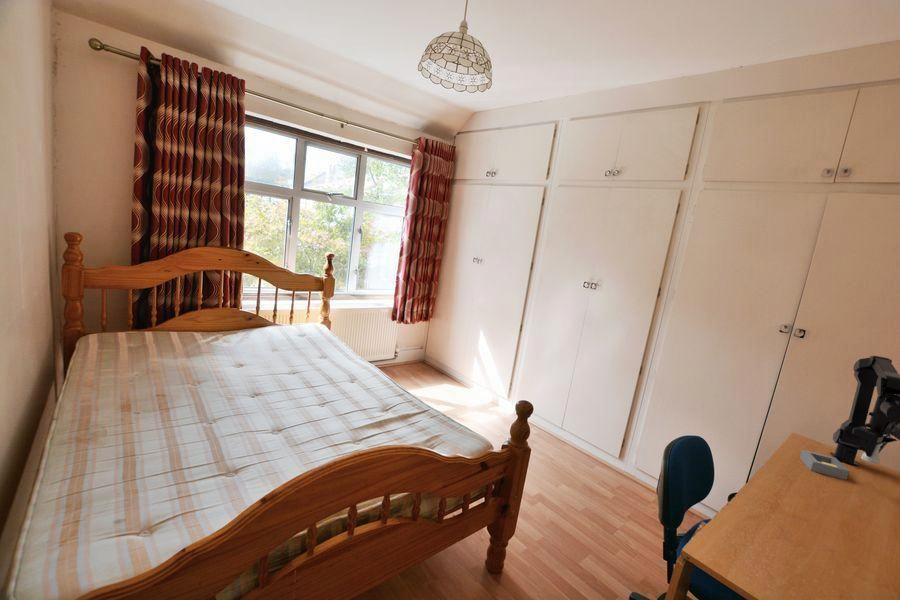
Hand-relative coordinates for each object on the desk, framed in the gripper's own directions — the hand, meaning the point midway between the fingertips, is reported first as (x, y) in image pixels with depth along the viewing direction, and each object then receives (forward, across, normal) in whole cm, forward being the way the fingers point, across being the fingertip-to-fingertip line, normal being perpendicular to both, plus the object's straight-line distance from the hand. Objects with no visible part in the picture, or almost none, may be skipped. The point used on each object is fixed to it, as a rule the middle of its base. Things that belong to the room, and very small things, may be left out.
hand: (871, 455), depth 135 cm
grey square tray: (+12, 0, +11) cm, 16 cm away
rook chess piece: (+2, 0, 0) cm, 2 cm away
